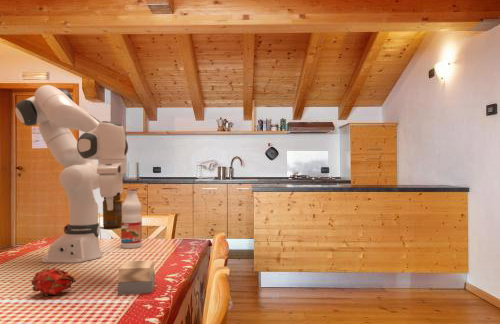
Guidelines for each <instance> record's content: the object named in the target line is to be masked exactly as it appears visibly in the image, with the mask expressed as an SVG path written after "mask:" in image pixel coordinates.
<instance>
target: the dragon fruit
mask: <svg viewBox="0 0 500 324" xmlns="http://www.w3.org/2000/svg"><path fill="white" fill-rule="evenodd" d="M76 281H77V280H76V278H75V277H74V276H73V275H72V274H67V273H66V272H65V270H62V269H60V268H55V267H52V268H51V269H50V268H44V269H42V271H41V270H40V271H38V272H37V273H36V275H34V276H33V279H32V280H31V285H32V292H38V293H39V292H41V293H42V295H43V296H44V297H45V298H46V297H48V296H49V295H54V296H55V295H56V296H63V295H65V294H66V293H67V292H66V291H65V290H68V289H71V288H72V284H73V283H77V282H76ZM62 291H63V292H62Z"/></svg>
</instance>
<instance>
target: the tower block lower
mask: <svg viewBox="0 0 500 324" xmlns="http://www.w3.org/2000/svg"><path fill="white" fill-rule="evenodd" d="M155 275H156V273H155V271H154V273H153V275H152V277H151V279H150V281H140V282H119V280H118V282H117V296H118V295H119V296H120V295H138V294H153V291H154V287H155V284H154V283H156V280H155V278H156V276H155Z"/></svg>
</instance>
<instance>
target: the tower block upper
mask: <svg viewBox="0 0 500 324" xmlns="http://www.w3.org/2000/svg"><path fill="white" fill-rule="evenodd" d="M154 272H155V260H125V261H124V262H123V263H122V264H121V266H119V268H118V281H119V282H140V281H150V279H151V277H152V275H153V273H154Z"/></svg>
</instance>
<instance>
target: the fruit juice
mask: <svg viewBox="0 0 500 324" xmlns="http://www.w3.org/2000/svg"><path fill="white" fill-rule="evenodd" d="M137 192H138V188H135V187H133V188H132V187H130V188H129V187H128V188H126V196H125V199H124V201H123V202H122V226H126V227H128V228H121V229H120V231H121V232H120V233H121V234H120V246H121V248H122V249H137V248H138V249H139V248H140V247H142V245H143V244H142V243H143V241H142V240H143V239H142V238H143V237H142V236H143V235H142V234H143V231H142V230H143V229H142V228H143V227H142V226H143V216H142V214H141V211H142V203H141V201H140V199H139V197H138V194H137Z"/></svg>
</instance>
